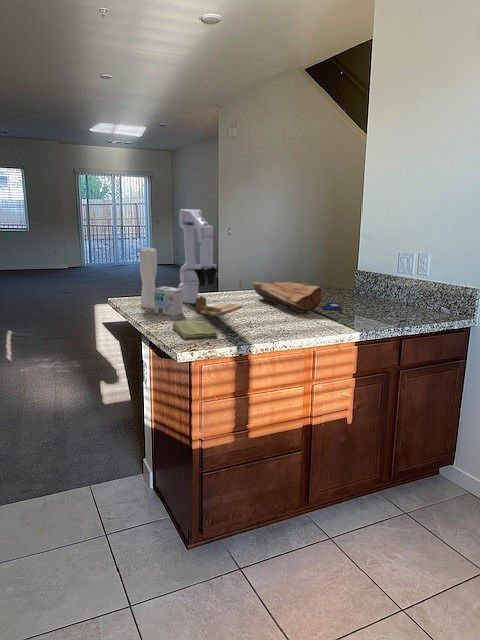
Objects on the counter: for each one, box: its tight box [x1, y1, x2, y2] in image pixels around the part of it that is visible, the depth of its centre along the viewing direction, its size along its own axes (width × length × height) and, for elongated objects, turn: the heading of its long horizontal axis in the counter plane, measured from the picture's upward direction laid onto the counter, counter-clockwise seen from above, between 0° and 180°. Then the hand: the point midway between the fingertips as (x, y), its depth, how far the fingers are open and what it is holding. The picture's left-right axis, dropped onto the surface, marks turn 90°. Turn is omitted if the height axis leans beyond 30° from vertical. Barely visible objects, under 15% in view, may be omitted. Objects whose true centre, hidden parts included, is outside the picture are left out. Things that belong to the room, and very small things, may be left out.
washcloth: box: [172, 321, 218, 340], centre depth 169 cm, size 13×18×3 cm
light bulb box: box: [153, 286, 184, 317], centre depth 200 cm, size 11×7×11 cm, turn 62°
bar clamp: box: [321, 301, 353, 320], centre depth 216 cm, size 32×2×10 cm
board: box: [200, 302, 243, 317], centre depth 211 cm, size 9×23×1 cm, turn 155°
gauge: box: [194, 295, 222, 314], centre depth 205 cm, size 12×4×7 cm, turn 65°
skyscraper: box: [139, 244, 158, 309], centre depth 210 cm, size 8×8×28 cm
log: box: [252, 280, 322, 313], centre depth 226 cm, size 42×18×15 cm, turn 20°
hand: (206, 285), depth 204 cm, fingers open, 7 cm apart
